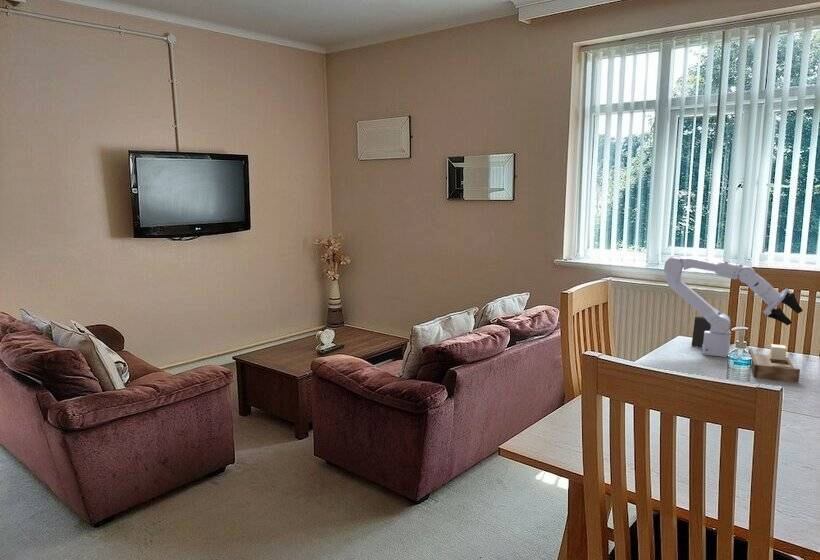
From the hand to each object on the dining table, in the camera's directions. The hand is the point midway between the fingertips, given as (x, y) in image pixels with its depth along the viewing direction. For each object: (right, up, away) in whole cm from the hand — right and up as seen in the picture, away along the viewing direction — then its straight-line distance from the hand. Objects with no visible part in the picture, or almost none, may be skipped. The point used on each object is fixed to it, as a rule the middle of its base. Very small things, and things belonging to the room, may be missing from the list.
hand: (795, 318), depth 211 cm
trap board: (-12, -18, -5) cm, 22 cm away
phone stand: (-21, -13, +28) cm, 37 cm away
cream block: (-5, -15, +3) cm, 16 cm away
